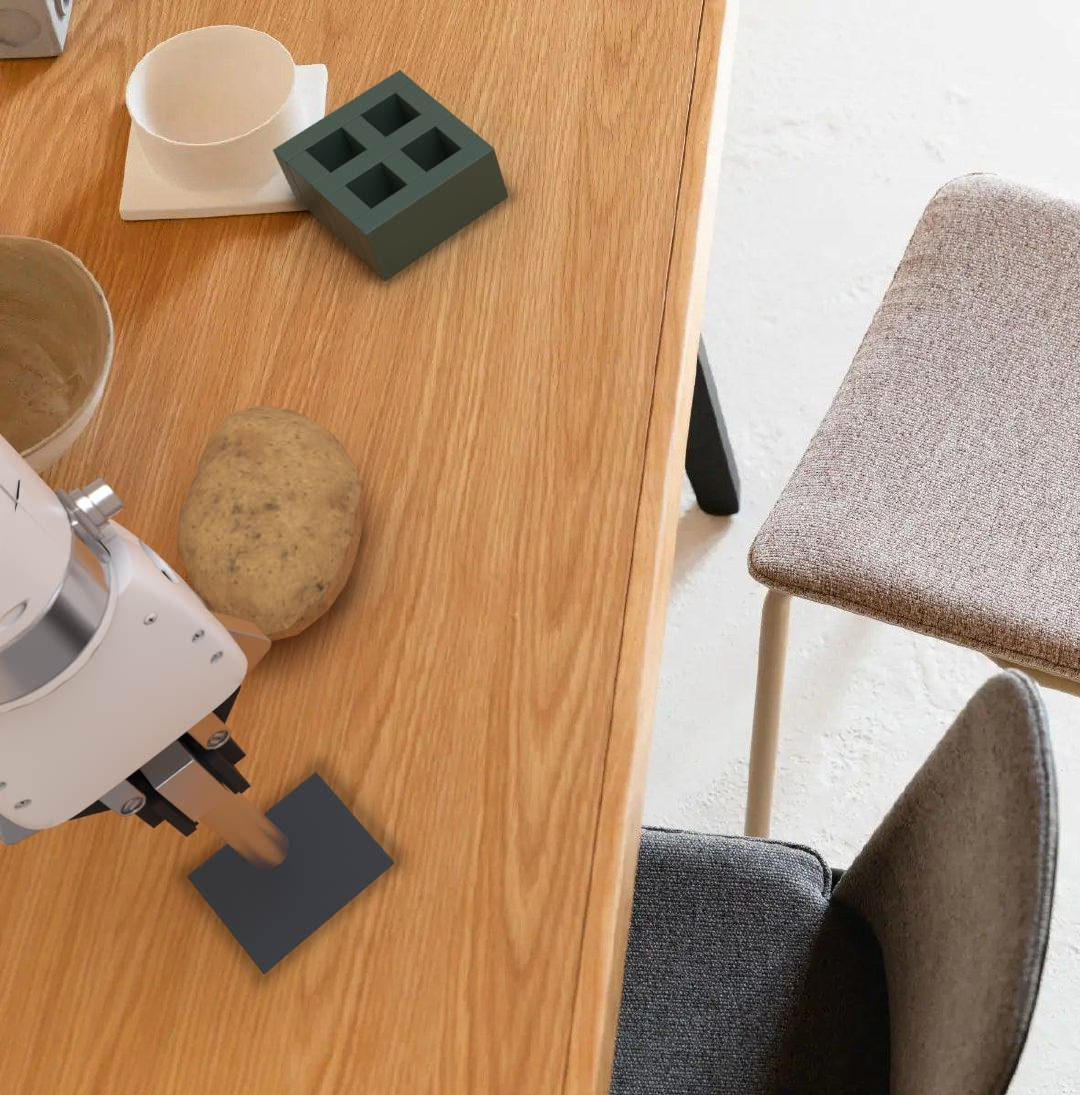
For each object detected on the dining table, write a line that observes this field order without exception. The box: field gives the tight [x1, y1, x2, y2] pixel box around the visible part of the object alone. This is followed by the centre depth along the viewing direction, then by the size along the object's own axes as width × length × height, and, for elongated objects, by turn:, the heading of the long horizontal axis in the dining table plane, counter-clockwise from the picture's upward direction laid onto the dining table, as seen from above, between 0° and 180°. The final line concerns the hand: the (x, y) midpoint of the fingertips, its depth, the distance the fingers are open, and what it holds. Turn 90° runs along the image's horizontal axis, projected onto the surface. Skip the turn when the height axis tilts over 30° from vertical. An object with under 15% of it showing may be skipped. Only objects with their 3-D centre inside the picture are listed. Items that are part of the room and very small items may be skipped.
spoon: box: [139, 737, 289, 869], centre depth 65 cm, size 4×2×14 cm, turn 44°
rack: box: [272, 69, 509, 282], centre depth 95 cm, size 10×10×5 cm
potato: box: [176, 404, 366, 642], centre depth 81 cm, size 10×14×8 cm
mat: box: [187, 771, 395, 975], centre depth 75 cm, size 7×8×1 cm
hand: (200, 788), depth 64 cm, fingers closed on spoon, 2 cm apart
